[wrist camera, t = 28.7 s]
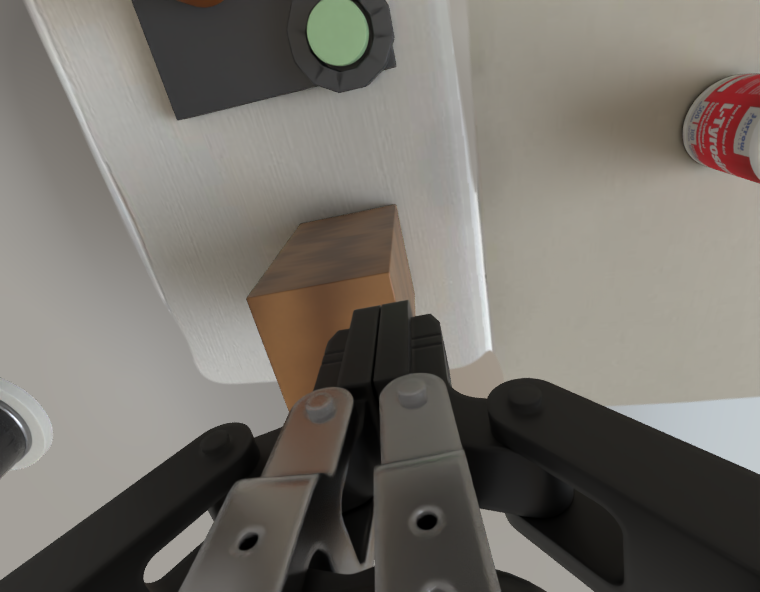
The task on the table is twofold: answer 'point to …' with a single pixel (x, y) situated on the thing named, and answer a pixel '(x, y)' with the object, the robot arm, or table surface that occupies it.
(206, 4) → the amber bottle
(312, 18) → the button
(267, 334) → the oak stand
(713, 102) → the pill bottle
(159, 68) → the scale
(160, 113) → the table surface
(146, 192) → the table surface
